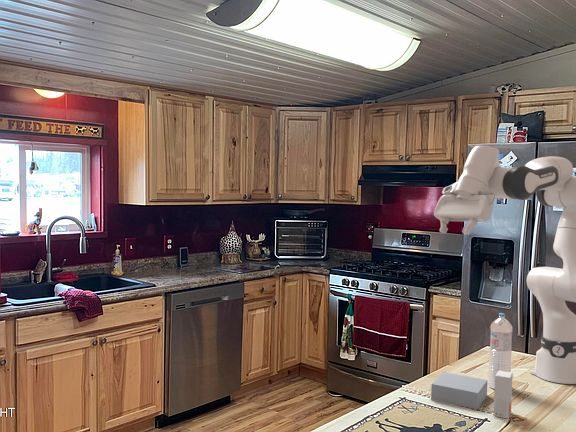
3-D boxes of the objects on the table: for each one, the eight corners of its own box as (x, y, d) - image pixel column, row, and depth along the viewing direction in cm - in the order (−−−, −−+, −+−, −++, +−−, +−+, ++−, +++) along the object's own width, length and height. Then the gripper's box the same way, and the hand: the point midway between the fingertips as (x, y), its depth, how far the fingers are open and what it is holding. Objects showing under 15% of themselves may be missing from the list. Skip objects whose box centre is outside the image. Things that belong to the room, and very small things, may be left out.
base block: (443, 386, 182) (443, 371, 182) (486, 395, 175) (487, 380, 175) (431, 399, 170) (431, 383, 170) (477, 409, 163) (477, 393, 163)
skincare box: (508, 419, 156) (510, 378, 156) (493, 416, 158) (494, 375, 158) (511, 412, 161) (513, 372, 161) (496, 409, 163) (497, 369, 163)
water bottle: (512, 392, 178) (514, 316, 177) (490, 390, 180) (492, 315, 179) (508, 385, 185) (510, 312, 184) (486, 383, 186) (489, 310, 185)
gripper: (503, 196, 158) (487, 239, 155) (452, 197, 176) (437, 236, 173) (489, 186, 155) (473, 229, 152) (439, 188, 173) (423, 227, 171)
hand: (453, 233), depth 163 cm, fingers open, 8 cm apart
